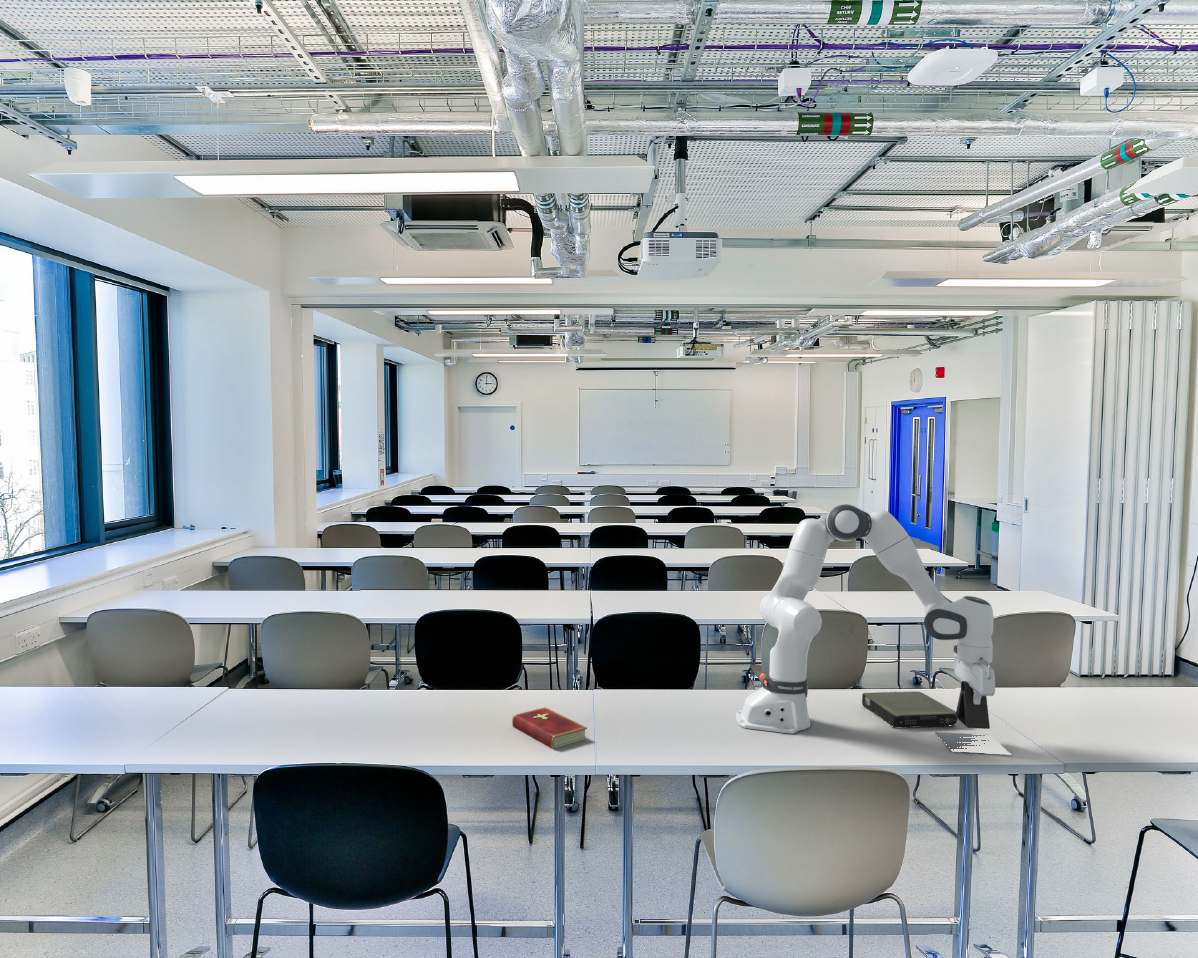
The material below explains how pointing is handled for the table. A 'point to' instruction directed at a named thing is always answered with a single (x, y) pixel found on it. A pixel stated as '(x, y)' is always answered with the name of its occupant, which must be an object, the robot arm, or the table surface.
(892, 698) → the network switch
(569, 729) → the hardcover book
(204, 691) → the table surface
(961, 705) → the black slotted holder
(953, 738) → the rubber mat
